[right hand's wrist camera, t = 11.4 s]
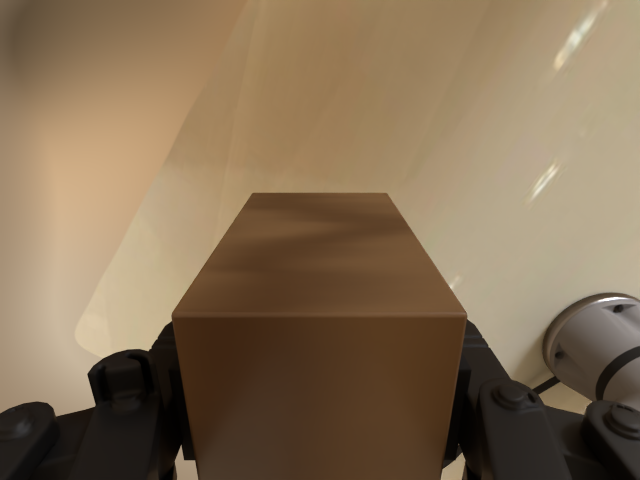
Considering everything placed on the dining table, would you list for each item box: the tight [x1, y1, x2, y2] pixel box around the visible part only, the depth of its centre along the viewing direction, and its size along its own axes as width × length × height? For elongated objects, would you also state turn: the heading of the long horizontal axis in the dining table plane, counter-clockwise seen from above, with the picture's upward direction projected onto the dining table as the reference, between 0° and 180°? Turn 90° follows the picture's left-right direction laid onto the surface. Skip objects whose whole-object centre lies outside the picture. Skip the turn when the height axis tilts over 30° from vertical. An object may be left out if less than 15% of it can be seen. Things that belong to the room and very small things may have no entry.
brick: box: [172, 193, 467, 480], centre depth 12 cm, size 5×7×8 cm
